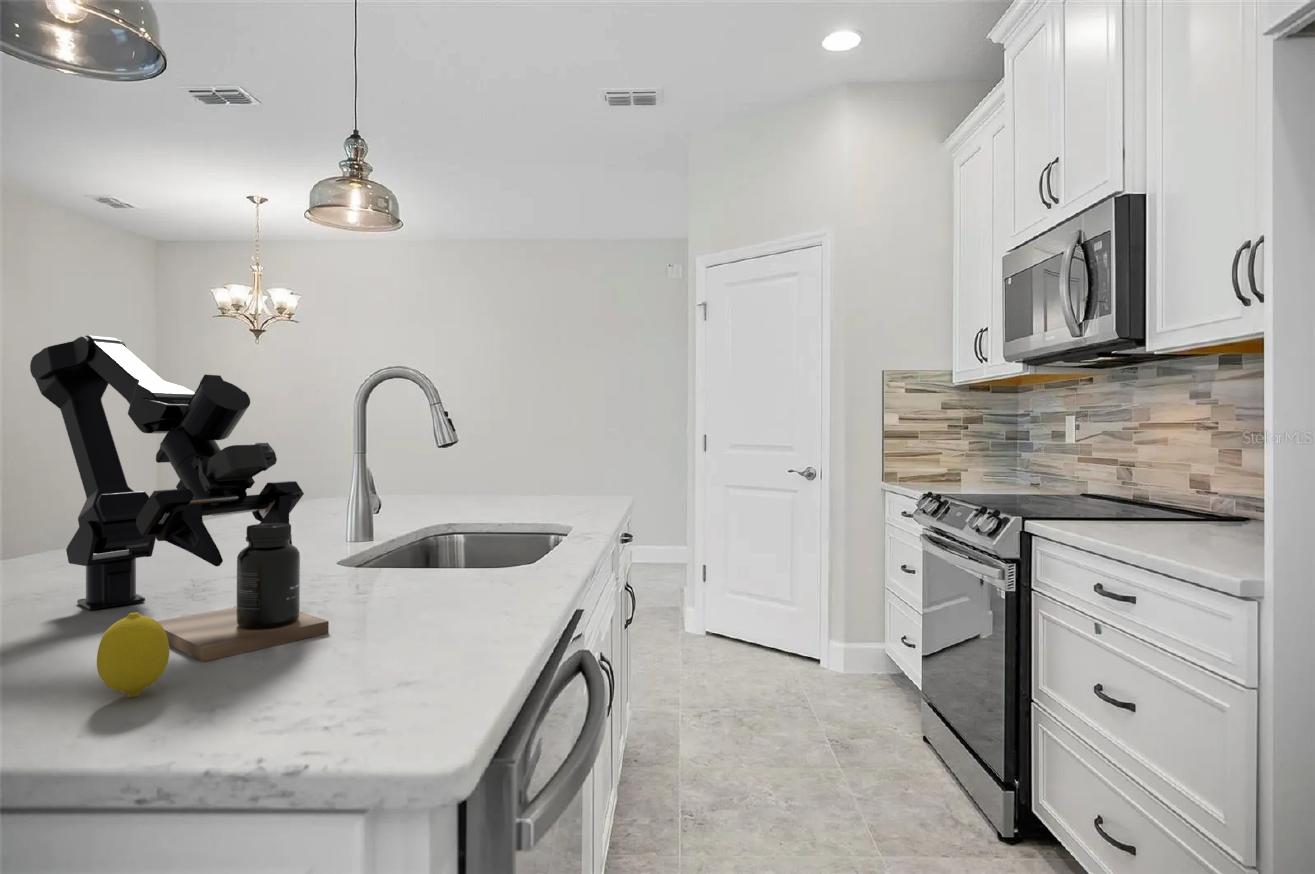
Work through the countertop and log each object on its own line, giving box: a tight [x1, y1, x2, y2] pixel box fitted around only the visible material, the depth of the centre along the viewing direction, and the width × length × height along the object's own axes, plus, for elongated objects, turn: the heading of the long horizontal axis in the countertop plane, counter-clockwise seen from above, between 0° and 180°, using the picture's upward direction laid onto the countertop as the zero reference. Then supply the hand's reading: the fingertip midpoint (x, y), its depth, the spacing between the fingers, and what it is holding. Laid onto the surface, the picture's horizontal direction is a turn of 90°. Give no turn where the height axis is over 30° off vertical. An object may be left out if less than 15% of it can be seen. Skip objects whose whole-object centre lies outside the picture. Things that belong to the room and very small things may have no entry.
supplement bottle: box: [236, 523, 301, 629], centre depth 88 cm, size 7×7×12 cm
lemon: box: [96, 612, 170, 698], centre depth 68 cm, size 6×6×8 cm
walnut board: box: [156, 606, 330, 663], centre depth 88 cm, size 16×14×2 cm
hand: (256, 557), depth 89 cm, fingers open, 9 cm apart
